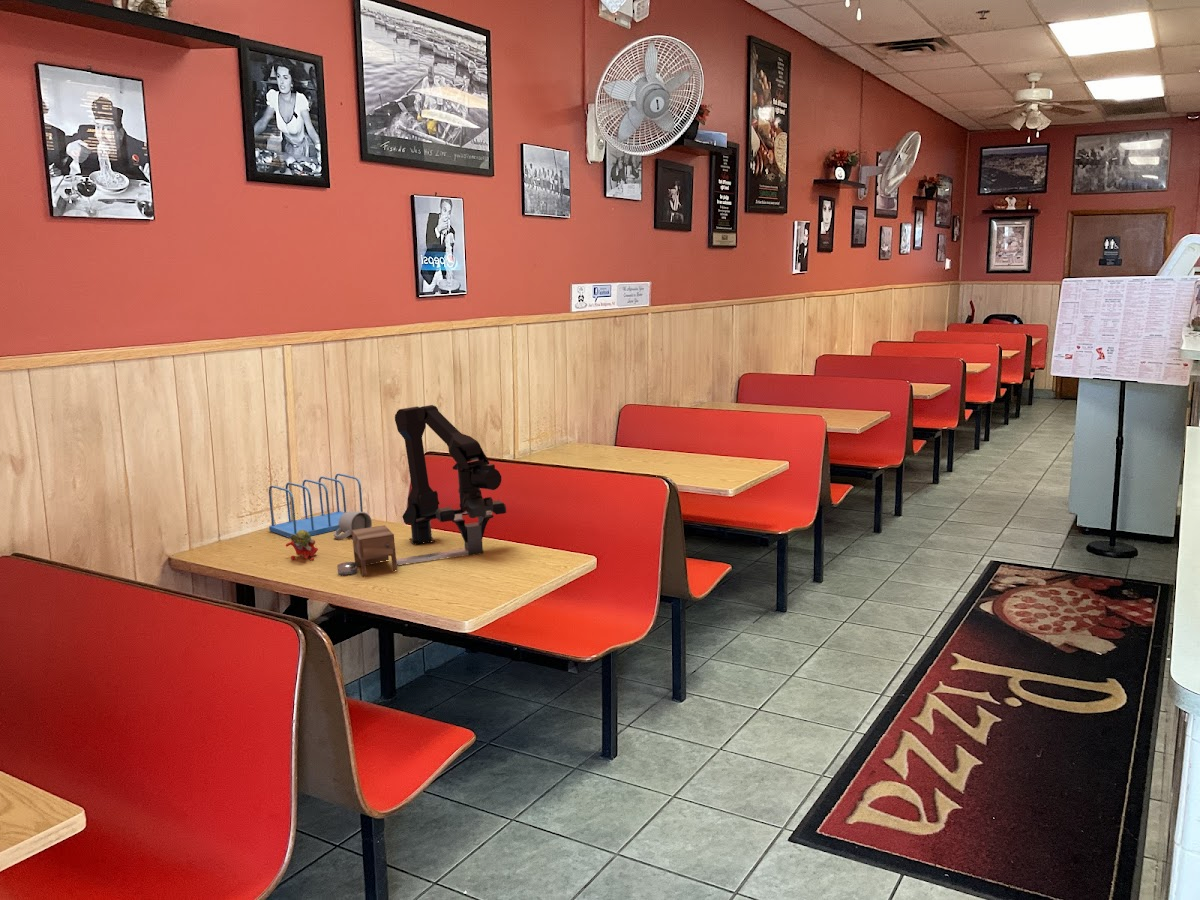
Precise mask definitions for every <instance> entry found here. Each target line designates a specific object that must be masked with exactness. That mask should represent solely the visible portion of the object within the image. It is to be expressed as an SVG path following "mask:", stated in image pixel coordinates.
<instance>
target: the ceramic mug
mask: <svg viewBox="0 0 1200 900" xmlns="http://www.w3.org/2000/svg"><path fill="white" fill-rule="evenodd" d="M339 527H340V528H339V529H338V530H335V532H334V533H333V536H334V538H335V539H336V540H337V539H338V541H340V540H344V539H347V538H348V537H349V536H352V530H355V529H362V528H369V527H373V521H372V517H371V516H370V514H368V513H367V512H365V511H363V512H361V511H357V510H355V511H354V510H350V511H349V510H348V511H346V513H344V514H343V515H342V516H341V517H340V519H339Z"/></svg>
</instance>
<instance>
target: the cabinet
mask: <svg viewBox="0 0 1200 900" xmlns="http://www.w3.org/2000/svg"><path fill="white" fill-rule="evenodd" d="M351 537H352V547H353V557H354V562H355V563H357V567H361V575H362V577H363V578H364V576H365V577H367V576H368V575H367V566H368V565H367V564H369V565H372V564H371V563H375V564H377V563H376V562H380V561H386V560H389V561H390V558H391V568H392V569H391V570H392V572H393V571H395V570H397V571H398V565H397V563H396V559H397V555H396V552H397V551H396V544H395V534H394V533H393V532H392V531H391V530H390V528H388V527H387V526H386V525H377V526H372V527H369V528H362V529H355V530H352V535H351ZM390 556H391V557H390ZM389 557H390V558H389Z"/></svg>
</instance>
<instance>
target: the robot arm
mask: <svg viewBox="0 0 1200 900" xmlns="http://www.w3.org/2000/svg"><path fill="white" fill-rule="evenodd" d="M394 422H395V425H396V428H397V432H398V433H399V434H400V435H401V437H402V438H403V440H404V444H405V450H406V457H407V465H408V471H409V478H410V484H411V490H410V492H409V495H408V497H407V504H408V505H407V508H406V510H405V511H404V513H403V515H402V520H403V523H404V524H408V525H410V529H411V531H410V532H411V538H409V539H408V541H409V540H410V541H411V542H412V543H413V544H416V545H419V544H418V543H422V544H424V543H423V542H429V543H432V542H431V541H435V542H436V539H435V538H434V537H433V536H432V525H431V520H437V521H439V522H440V523H445V522H452V523H454V524H455V525H456V527H457V528H458V531H459V533H460V535H461V538H462V539H463V541H464V544H465V543H466V542H467V537H466V531H465V524H466V520H465V519H464V518H463V516H468V518H470V519H476V518H477V521H478V522H477V523H479V524H480V525H481V532H482V539H483V538H484V535H485V530H486V526H487V525H488V522H489V521H490V519H493V518H494V515H493V514H495V515H502V514H506V513H507V506H506V504H505V503H504V502H502V501H501V500H499V499H498V500H493V498H492V497H491V496H487V497H483V495H482V490H483V489H484V490H491V491H495V490H497V489H498V488H499V487H500V485H501V484H502V474H501V473H500V471H499V470H498V469H496V467H495V466H496V465H495V464H490V462H489V459H488V456H487V455H486V454H485V452H484V450H483V448H482V446H481V445H480V443H479V441H477V440H476V438H475V439H474V438H473V437H472V436H470V435H466V434H464V433H462V432H461V431H459V430H458V428H457V427H455V426H454V425H453V424H452V423H451V421H449V420H448V419H447V418H446V417H445V416H444V415H443V414H442V412H440V411H439V408H438V407H437V406H436V405H433V404H430V405H429V404H428V405H424V406H421V407H420V406H412V407H411V406H410V407H405V408H399V409H398V410H397V411H396V413H395V414H394ZM427 426H428V427H429V428H430V430H432V431H433V432H434V433H435V434H436V435H437V436H438V437H439V438H440V439H441V440H442V441H443V442H444V443H445V445H446V446H447V448H448V453H449V455H450V456H451V458H453V460H454V462H456V463H454V465H453V466H452V470H455V471H457V476H458V477H457V479H458V494H459V508H457V509H453V508H452V507H451V506H447V507H446V506H445V507H440V506H439V505H440V501H439V495H438V492H437V490H433V489H432V487H431V486H430V483H429V477H428V470H427V469H428V468H427V463H426V457H425V455H426V454H425V449H424V448H425V447H424V444H423V443H424V442H423V435H424V434H425V433H424V432H425V430H426V427H427ZM481 489H482V490H481ZM410 541H409V542H410ZM411 542H410V543H411ZM412 543H411V544H412ZM413 544H412V545H413Z"/></svg>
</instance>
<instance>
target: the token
mask: <svg viewBox="0 0 1200 900" xmlns="http://www.w3.org/2000/svg"><path fill="white" fill-rule="evenodd" d="M357 573H358V566H357V563H355V561H345V562H341V563H339V564H337V575H338V576H339V575H341V576H340V577H348V575H350V576H354V575H356V574H357ZM342 575H343V576H342Z"/></svg>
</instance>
